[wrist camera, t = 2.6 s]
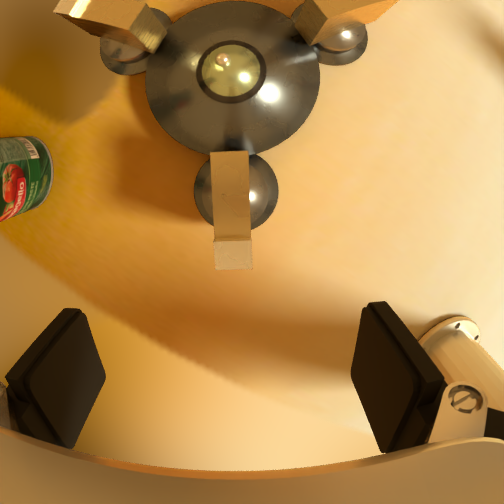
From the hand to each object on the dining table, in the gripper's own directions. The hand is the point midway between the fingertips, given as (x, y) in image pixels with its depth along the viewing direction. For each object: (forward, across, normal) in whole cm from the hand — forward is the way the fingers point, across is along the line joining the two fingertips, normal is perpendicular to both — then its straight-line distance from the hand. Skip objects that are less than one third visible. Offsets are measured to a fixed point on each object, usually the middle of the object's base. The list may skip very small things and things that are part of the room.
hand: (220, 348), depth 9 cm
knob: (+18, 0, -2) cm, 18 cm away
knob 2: (+18, -9, -17) cm, 27 cm away
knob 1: (+18, +8, -17) cm, 27 cm away
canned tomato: (+19, +22, -6) cm, 29 cm away
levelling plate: (+18, 0, -10) cm, 21 cm away
